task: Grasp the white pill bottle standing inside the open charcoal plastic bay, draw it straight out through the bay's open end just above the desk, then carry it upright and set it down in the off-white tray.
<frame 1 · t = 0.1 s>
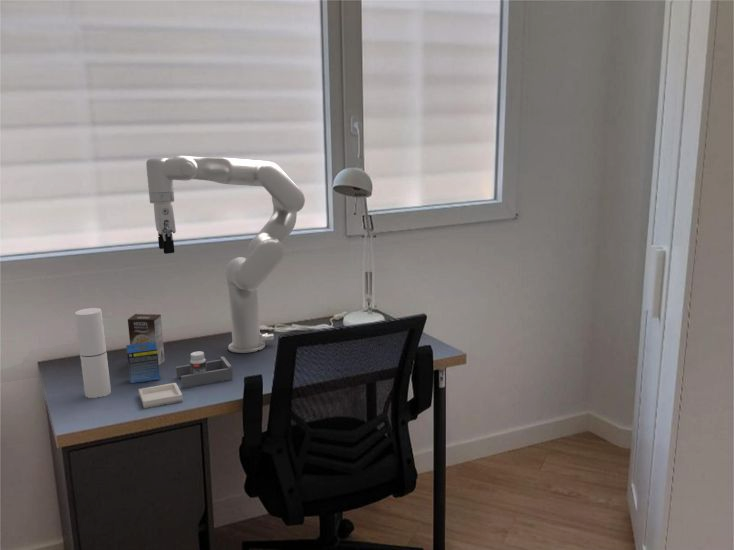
hand: (166, 250, 229), 37 cm above the table, tool pointing down, fingers open, 9 cm apart
label tape cartridge: (145, 380, 219), on the table
tray: (160, 398, 204), on the table
pill bottle: (199, 380, 218), resting in bay
cylindrical container: (98, 394, 209), on the table
bay: (204, 378, 218), on the table
coffee box: (148, 364, 234), on the table
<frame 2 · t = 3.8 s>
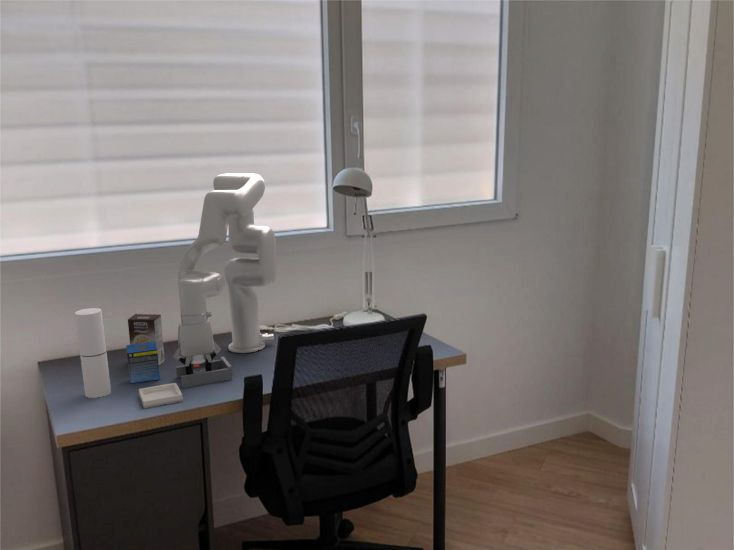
hand: (199, 375, 218), 1 cm above the table, tool pointing down, fingers closed on pill bottle, 4 cm apart
pill bottle: (199, 380, 218), resting in bay, touching gripper
everything else where it was.
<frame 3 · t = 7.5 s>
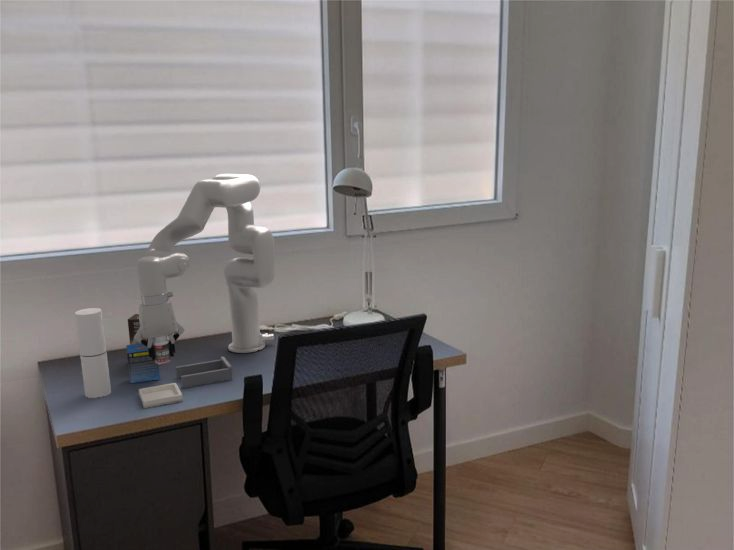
hand: (162, 356, 213), 9 cm above the table, tool pointing down, fingers closed on pill bottle, 4 cm apart
pill bottle: (163, 361, 213), point 7 cm above the table, touching gripper
everything else where it was.
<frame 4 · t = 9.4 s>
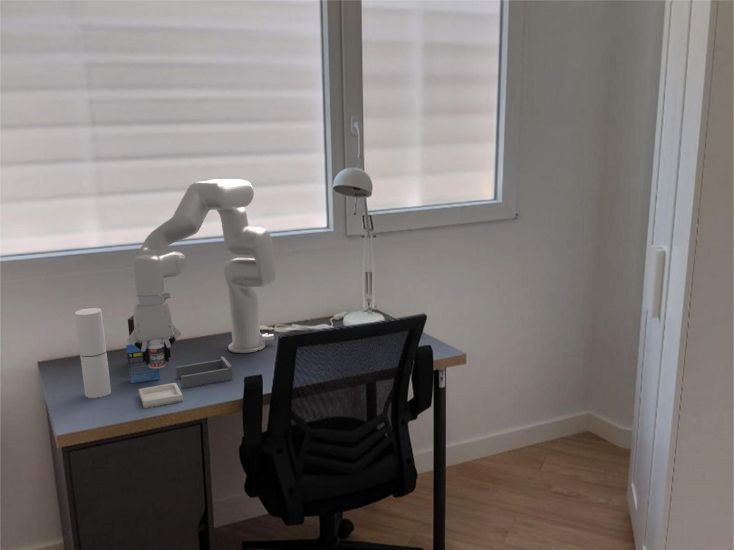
hand: (156, 361, 201), 11 cm above the table, tool pointing down, fingers closed on pill bottle, 4 cm apart
pill bottle: (157, 366, 202), point 10 cm above the table, touching gripper
everything else where it was.
when the fingers open (3 cm above the table, at t = 11.1 s): pill bottle drops 1 cm, resting on tray.
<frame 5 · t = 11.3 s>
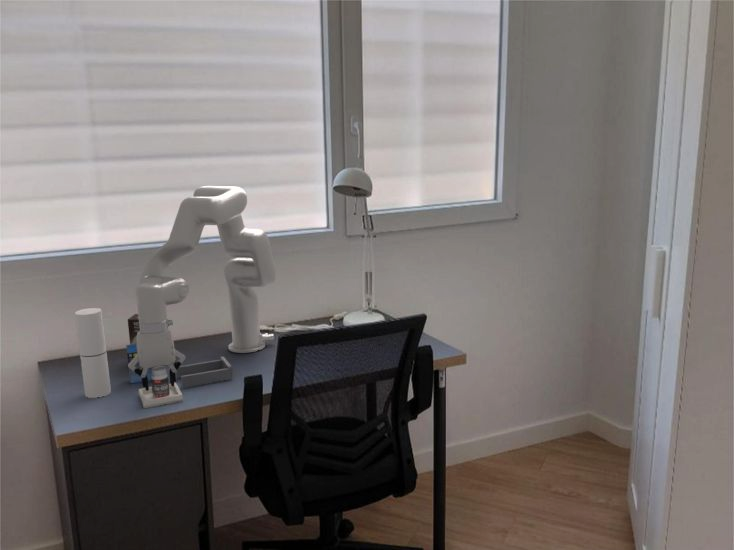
hand: (159, 386, 203), 4 cm above the table, tool pointing down, fingers open, 6 cm apart
pill bottle: (161, 396, 204), resting on tray
everything else where it was.
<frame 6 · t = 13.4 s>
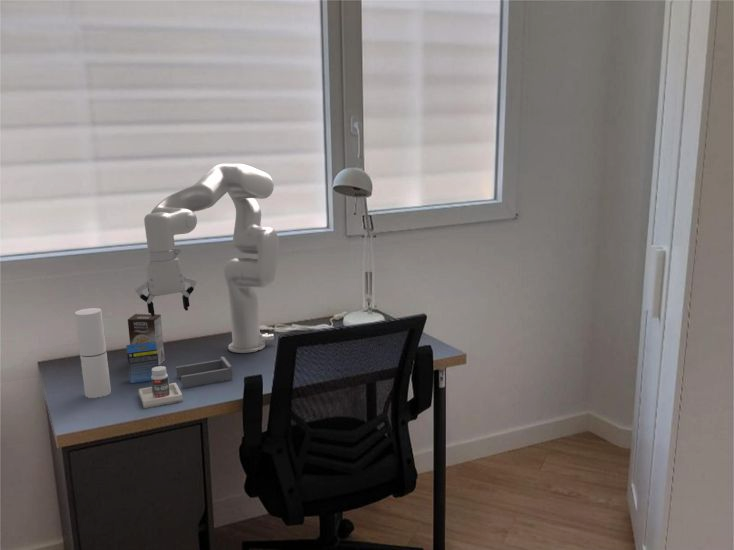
hand: (169, 312, 210), 22 cm above the table, tool pointing down, fingers open, 9 cm apart
nothing on the table moved.
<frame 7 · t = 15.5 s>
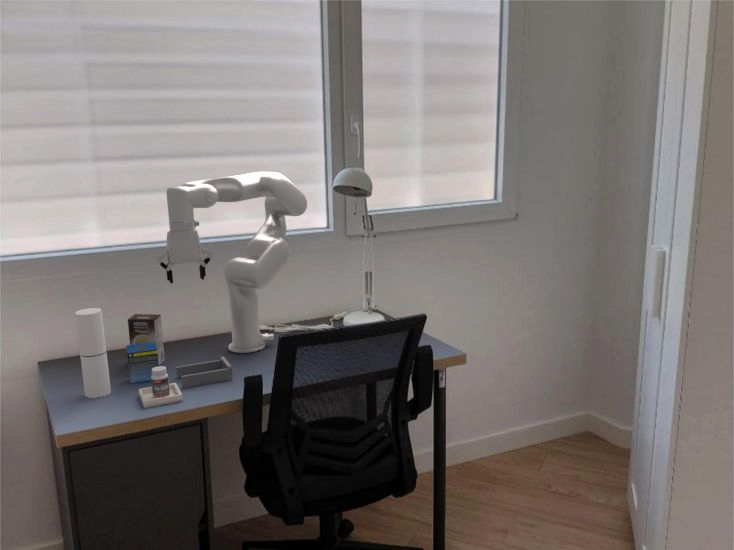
hand: (186, 280, 224), 28 cm above the table, tool pointing down, fingers open, 9 cm apart
nothing on the table moved.
at the end: pill bottle inside the target area on the tray (0.2 cm from its centre), point 0.4 cm above the tray's base; pill bottle tilted 0°; the gripper is holding nothing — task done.
